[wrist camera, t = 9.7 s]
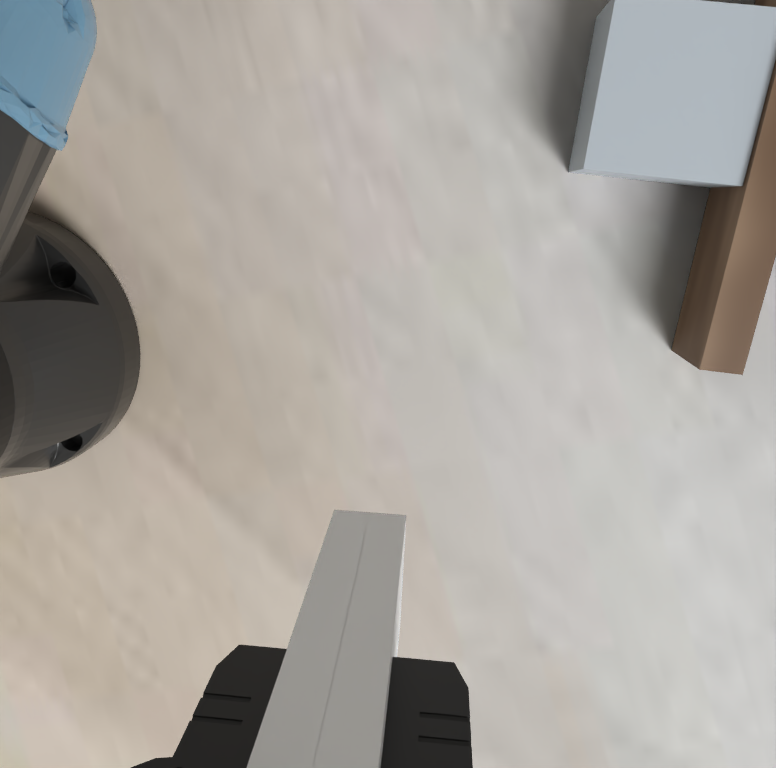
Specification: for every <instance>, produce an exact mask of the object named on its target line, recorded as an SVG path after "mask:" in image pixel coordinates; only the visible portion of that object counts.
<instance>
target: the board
mask: <svg viewBox="0 0 776 768" xmlns="http://www.w3.org/2000/svg"><path fill="white" fill-rule="evenodd" d="M755 5H757V6H768V7H776V0H756V1H755ZM775 257H776V60H775V64H774V67H773V71H772V75H771V79H770V83H769V87H768V91H767V94H766V98H765V102H764V106H763V110H762V114H761V118H760V121H759V125H758V129H757V133H756V137H755V141H754V145H753V148H752V152H751V156H750V160H749V164H748V168H747V172H746V175H745V179H744V183H743V186H735V187H711V188H710V192H709V196H708V200H707V204H706V208H705V213H704V217H703V221H702V225H701V229H700V233H699V237H698V242H697V246H696V250H695V254H694V258H693V262H692V266H691V271H690V275H689V279H688V283H687V287H686V291H685V295H684V300H683V304H682V308H681V312H680V316H679V320H678V324H677V328H676V333H675V337H674V341H673V345H672V349H671V350H672V351H673V352H675V353H676V354H678V355H679V356H681V357H682V358H683V359H685V360H686V361H688V362H689V363H691V364H692V365H694V366H695V367H697V368H698V369H700V370H708V371H716V372H724V373H733V374H741V375H743V371H744V368H745V364H746V361H747V357H748V353H749V350H750V346H751V343H752V339H753V335H754V332H755V328H756V325H757V321H758V318H759V314H760V310H761V307H762V303H763V300H764V296H765V292H766V289H767V285H768V282H769V278H770V275H771V271H772V267H773V264H774V260H775Z"/></svg>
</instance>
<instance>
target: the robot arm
mask: <svg viewBox="0 0 776 768" xmlns="http://www.w3.org/2000/svg"><path fill="white" fill-rule="evenodd" d="M96 35H97V25H96V17H95V13H94V9H93V6H92V3H91V0H0V478H2V477H8V476H14V475H20V474H25V473H31V472H37V471H42V470H46V469H50V468H53V467H56V466H58V465H61V464H63V463H66V462H68V461H70V460H72V459H74V458H75V457H77V456H79V455H80V454H82V453H83V452H85V451H86V450H88V449H89V448H91V447H92V446H93V445H95V444H96V443H98V442H99V441H101V440H102V439H103V438H104V437H106V436H107V435H108V434H109V433H110V432H111V431H112V430H113V429H114V428H115V427H116V426H117V424H118V423H119V422H120V421H121V419H122V418H123V416H124V415H125V413H126V411H127V410H128V408H129V406H130V404H131V401H132V399H133V396H134V393H135V390H136V387H137V383H138V377H139V370H140V344H139V337H138V331H137V327H136V323H135V319H134V316H133V313H132V310H131V307H130V305H129V303H128V300H127V298H126V296H125V294H124V292H123V290H122V288H121V286H120V285H119V283H118V281H117V280H116V278H115V277H114V275H113V274H112V272H111V271H110V270H109V268H108V267H107V266H106V265H105V263H104V262H103V261H102V260H101V259H100V258H99V256H98V255H97V254H96V253H95V252H94V251H93V250H92V249H91V248H90V247H89V246H87V245H86V244H85V243H84V242H83V241H82V240H80V239H79V238H78V237H77V236H75V235H74V234H73V233H71V232H70V231H68V230H66V229H65V228H63V227H62V226H60V225H58V224H56V223H55V222H52V221H50V220H48V219H46V218H44V217H41V216H39V215H36V214H33V213H30V212H28V210H29V207H30V205H31V203H32V201H33V199H34V197H35V195H36V192H37V190H38V188H39V186H40V184H41V182H42V180H43V178H44V176H45V173H46V171H47V169H48V167H49V165H50V163H51V161H52V159H53V156H54V154H55V152H56V150H61V151H62V149H63V148H64V146H65V144H66V142H67V139H68V134H67V131H66V125H67V123H68V120H69V117H70V114H71V112H72V109H73V106H74V103H75V101H76V98H77V95H78V92H79V89H80V87H81V84H82V81H83V78H84V76H85V73H86V70H87V67H88V65H89V62H90V60H91V57H92V54H93V52H94V49H95V44H96ZM405 530H406V515H395V514H382V513H370V512H357V511H344V510H334V513H333V516H332V518H331V521H330V524H329V527H328V530H327V533H326V536H325V539H324V542H323V545H322V548H321V551H320V554H319V557H318V560H317V562H316V565H315V568H314V571H313V574H312V577H311V580H310V583H309V586H308V589H307V592H306V595H305V598H304V601H303V604H302V606H301V609H300V612H299V615H298V618H297V621H296V624H295V627H294V630H293V633H292V636H291V639H290V642H289V645H288V647H287V649H281V648H270V647H259V646H248V645H238V646H237V647H236V648H235V649H234V650H233V651H232V652H231V653H230V654H229V655H228V656H227V657H225V658H224V659H223V660H222V661H221V662H220V663H219V664H218V665H217V666H216V668H215V670H214V672H213V674H212V676H211V678H210V680H209V682H208V684H207V686H206V689H205V691H204V694H203V698H201V699H200V701H199V703H198V705H197V707H196V709H195V712H194V714H193V718H192V721H190V722H189V724H188V726H187V728H186V730H185V732H184V735H183V737H182V739H181V741H180V743H179V745H178V747H177V749H176V751H175V753H174V755H173V757H168V758H155V759H152V760H150V761H147V762H144V763H142V764H139V765H136V766H134V767H131V768H473V767H472V748H471V729H470V710H469V691H468V686H467V685H466V683H465V681H464V679H463V678H462V676H461V674H460V672H459V670H458V669H457V667H456V665H455V663H454V662H443V661H432V660H422V659H411V658H400V657H397V653H398V643H399V633H400V619H401V601H402V584H403V566H404V548H405Z"/></svg>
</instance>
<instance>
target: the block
mask: <svg viewBox="0 0 776 768" xmlns="http://www.w3.org/2000/svg"><path fill="white" fill-rule="evenodd" d="M775 60H776V7H768V6H757V5H746V4H736V3H725V2H714V1H703V0H610V1H609V2H608V3H607V5H606V6H605V7H604V8H603V10H602V11H601V12H600V13H599V14H598V16H597V17H596V21H595V27H594V32H593V38H592V43H591V49H590V54H589V60H588V65H587V71H586V76H585V82H584V87H583V93H582V98H581V104H580V109H579V115H578V120H577V126H576V131H575V137H574V142H573V148H572V153H571V159H570V165H569V170H568V172H570V173H580V174H589V175H598V176H607V177H616V178H625V179H635V180H644V181H653V182H662V183H671V184H681V185H690V186H699V187H708V188H711V187H735V186H743V183H744V179H745V175H746V172H747V168H748V164H749V160H750V156H751V152H752V148H753V145H754V141H755V137H756V133H757V129H758V125H759V121H760V118H761V114H762V110H763V106H764V102H765V98H766V94H767V91H768V87H769V83H770V79H771V75H772V71H773V67H774V64H775Z"/></svg>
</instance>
